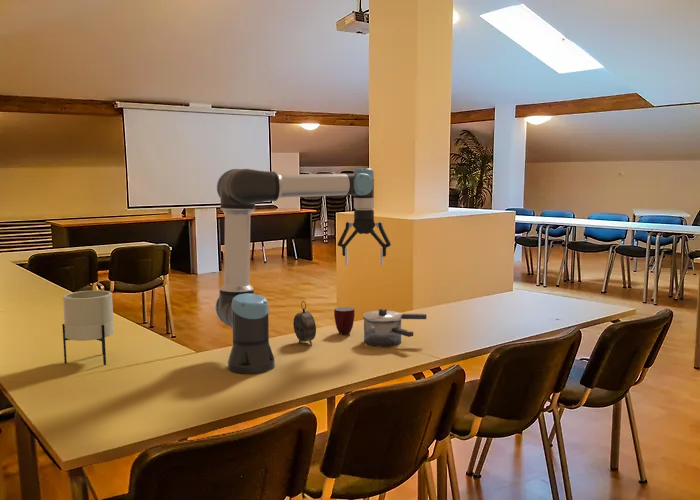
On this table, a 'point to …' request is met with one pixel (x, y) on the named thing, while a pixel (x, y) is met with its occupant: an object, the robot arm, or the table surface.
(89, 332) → the planter
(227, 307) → the robot arm
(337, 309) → the mug
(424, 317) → the lid
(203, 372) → the table surface
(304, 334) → the alarm clock
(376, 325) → the pot
